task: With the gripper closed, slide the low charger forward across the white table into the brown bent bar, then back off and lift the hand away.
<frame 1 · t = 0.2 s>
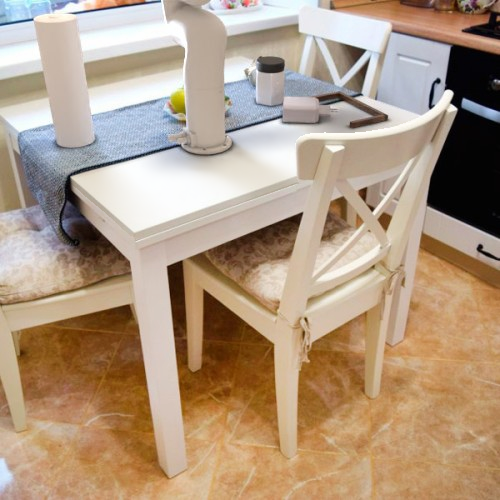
ceramic sculpture: (260, 83, 188), on the table
charger: (309, 118, 163), on the table
brown bent bar: (339, 112, 167), on the table
cylinder container: (76, 140, 149), on the table
jar: (269, 101, 174), on the table
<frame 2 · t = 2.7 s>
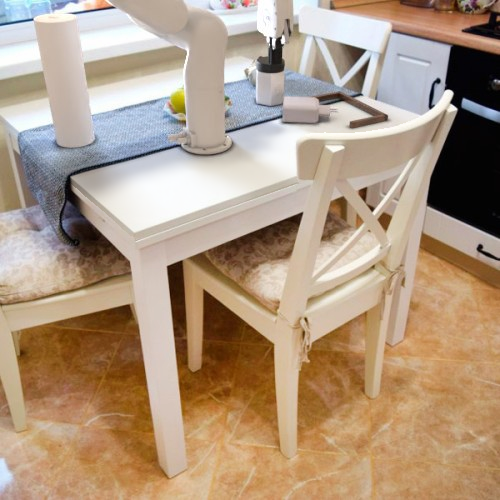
hand: (275, 63, 149), 17 cm above the table, tool pointing down, fingers closed
nothing on the table moved.
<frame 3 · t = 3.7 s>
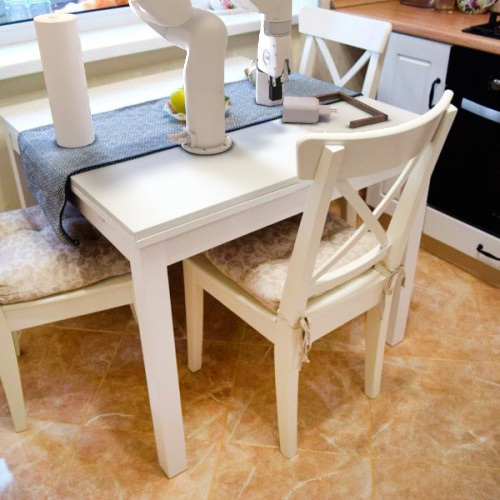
hand: (275, 99, 154), 7 cm above the table, tool pointing down, fingers closed
nothing on the table moved.
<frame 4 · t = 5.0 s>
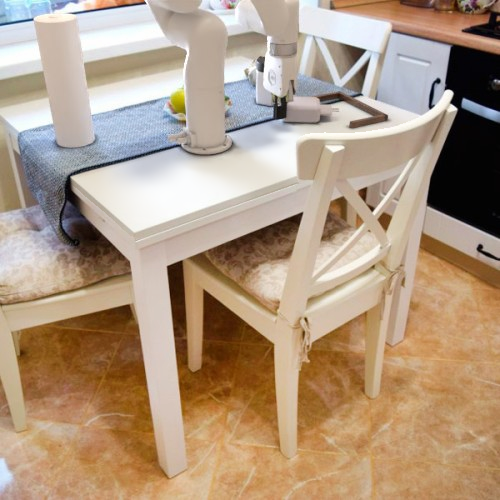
hand: (279, 117, 158), 2 cm above the table, tool pointing down, fingers closed
nothing on the table moved.
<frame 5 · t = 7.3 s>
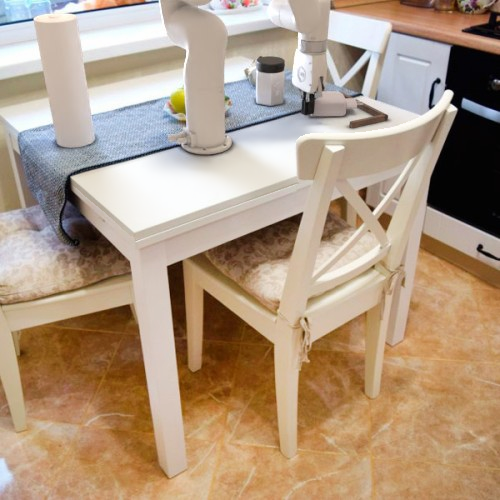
hand: (307, 113, 162), 1 cm above the table, tool pointing down, fingers closed
charger: (335, 112, 167), on the table, touching gripper
everything else where it was.
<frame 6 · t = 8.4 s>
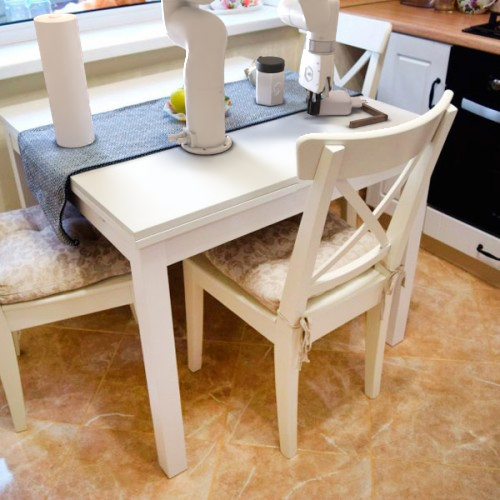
hand: (312, 114, 163), 1 cm above the table, tool pointing down, fingers closed
charger: (340, 111, 168), on the table, touching brown bent bar, gripper
everything else where it was.
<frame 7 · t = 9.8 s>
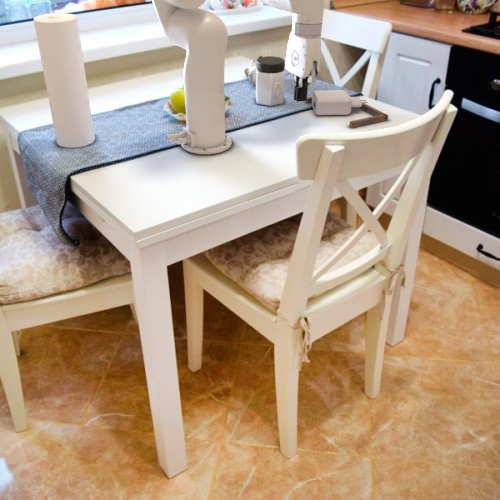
hand: (299, 100, 158), 6 cm above the table, tool pointing down, fingers closed
charger: (340, 111, 168), on the table
everything else where it was.
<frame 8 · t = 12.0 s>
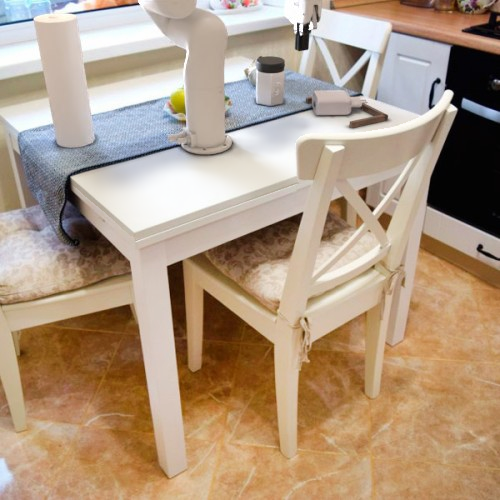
hand: (301, 49, 151), 19 cm above the table, tool pointing down, fingers closed
nothing on the table moved.
at the end: charger inside the target area on the brown bent bar (1.7 cm from its centre), point 0.0 cm above the brown bent bar's base; charger moved 11.2 cm from its start; charger tilted 0° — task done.
